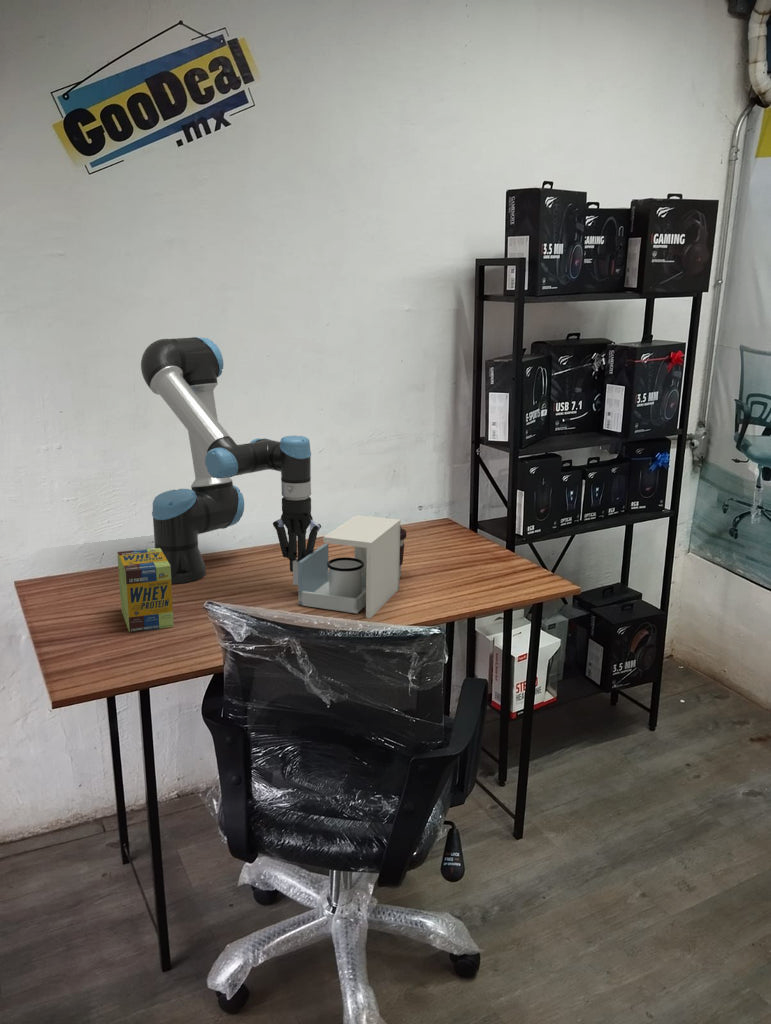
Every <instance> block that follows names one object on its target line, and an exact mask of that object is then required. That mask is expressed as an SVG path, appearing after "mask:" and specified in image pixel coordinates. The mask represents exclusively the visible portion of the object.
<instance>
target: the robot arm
mask: <svg viewBox="0 0 771 1024" xmlns="http://www.w3.org/2000/svg"><path fill="white" fill-rule="evenodd" d="M142 353H143V354H142V357H141V360H140V361H141V362H140V370H141V375H142V378H143V380H144V382H145V384H146V385H147V386H148V388H149V389H150V391H151V392H152V393H153V394H155V395H158V396H160V397H161V398H162V399H163V401H164V402H165V403H166V405H167V406H168V407H169V408H170V409H171V411H172V412H173V414H174V415H175V416H176V417H177V418H178V420H179V421H180V422H181V424H183V426H184V427H185V429H186V430H187V432H188V440H189V445H190V451H191V457H192V458H191V459H192V465H193V466H192V467H193V472H194V477H195V479H194V481H193V482H192V484H191V486H190V489H189V488H178V489H169V490H167V491H164V492H162V493H159V494H158V495H156V496H155V497H154V499H153V501H152V510H151V515H152V522H153V524H152V525H153V536H154V537H153V539H154V540H153V541H154V548H160V549H161V550H162V552H163V554H164V555H165V557H166V559H167V560H168V562H169V564H170V566H171V582H172V584H185V583H191V582H194V581H197V580H198V581H199V579H202V578H204V576H206V574H207V573H206V564H205V561H204V558H203V557H202V554H201V551H200V548H199V537H198V535H200V534H206V533H209V532H214V531H216V530H220V529H226V528H228V527H231V526H234V525H236V524H238V523H239V522H240V520H241V518H242V517H243V516H244V515H243V514H244V511H245V498H244V495H243V493H242V492H241V489H240V488H239V487H238V486H236V485H234V484H233V483H234V482H233V479H232V477H235V476H241V475H244V474H251V473H256V472H261V471H267V470H272V471H277V472H280V476H281V477H280V481H281V496H282V498H281V511H282V513H281V516H280V518H278V519H277V520H275V521H273V522H272V525H273V527H274V529H275V530H276V534H277V538H278V542H279V546H280V549H281V554H282V557H283V558H287V559H288V560H289V571H290V573H291V572H292V585H293V586H297V587H298V562H299V561H300V560H302V559H303V558H305V557H306V556H308V555H309V554H310V553H312V552H313V551H315V546H316V541H317V536H318V533H319V531H320V529H321V527H322V525H321V524H320V523H317V522H315V521H314V519H313V516H312V497H311V495H312V484H311V483H312V482H311V479H312V477H311V475H312V474H311V472H312V471H311V469H312V468H311V465H312V464H311V462H312V460H311V458H312V457H311V456H312V451H311V442H310V439H309V437H306V436H304V435H285V436H283V437H282V438H281V439H280V441H277V440H272V439H269V438H254V439H252V441H250V442H249V443H248V442H247V443H242V444H237V443H236V442H235V440H234V439H233V438H232V437H231V436H230V434H229V433H228V432H227V431H226V430H225V428H224V427H223V426H222V424H221V423H220V422H219V420H218V419H219V418H218V413H217V407H216V400H215V394H214V390H215V388H216V387H217V385H219V384H218V378H219V377H220V376H222V373H223V369H224V358H223V355H222V352H221V349H220V348H219V346H218V345H217V344H216V343H214V341H213V340H212V339H209V338H208V337H207V338H206V337H197V336H195V337H193V336H191V337H181V338H179V337H178V338H161V339H158V340H155V341H154V342H153V341H152V343H150V344H149V345H148V346H147V347H146V348H145V350H144V352H142ZM308 528H309V531H310V532H309V534H308V538H307V540H306V536H307V530H308ZM286 530H287V531H286Z"/></svg>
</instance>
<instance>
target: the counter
mask: <svg viewBox="0 0 771 1024" xmlns="http://www.w3.org/2000/svg"><path fill="white" fill-rule="evenodd" d="M400 526H401V519H398V518H397V519H396V518H387V517H378V516H371V515H369V516H368V515H361V514H360V515H359V514H356V515H353V517H351V518H349V519H348V520H346V521H345V522H344V523H341V525H339V526H338V527H336V528H335V529H333V530H332V531H330V532H328V533H327V534H326V535H324V536H323V543H324V544H332V545H338V546H339V545H340V546H341V545H342V546H349V547H354V558H356V559H359V560H361V561H363V562H364V566H363V568H362V576H366V606H365V618H366V619H372V617H374V615H376V614H377V613H378V611H379V610H381V608H383V606H384V605H385V604H386V603H388V601H389V600H390V599H391V598H392V597H393V596H394V595H395V594H396V593H397V592H398V591H399V590H400V578H399V565H400Z"/></svg>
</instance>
